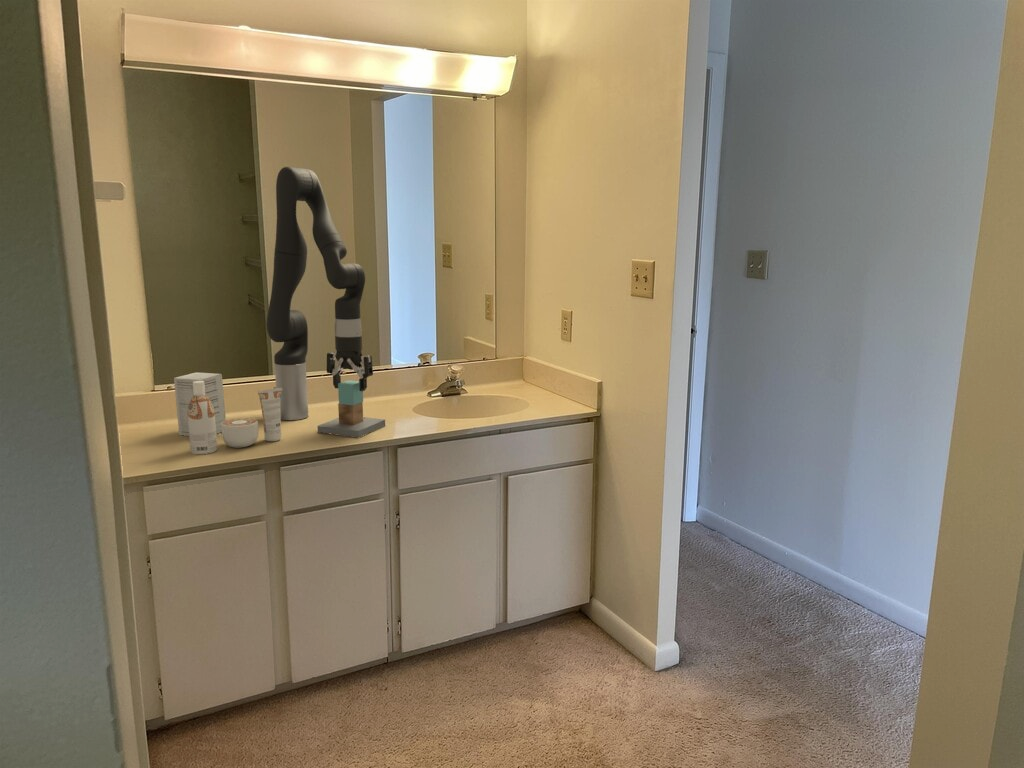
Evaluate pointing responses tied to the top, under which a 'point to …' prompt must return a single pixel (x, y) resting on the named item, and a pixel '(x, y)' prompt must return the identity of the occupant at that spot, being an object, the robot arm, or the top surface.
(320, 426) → the slate base
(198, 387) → the cosmetic set
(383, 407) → the top surface
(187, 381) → the supplement box
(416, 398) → the top surface
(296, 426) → the top surface
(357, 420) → the walnut block
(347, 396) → the teal block
